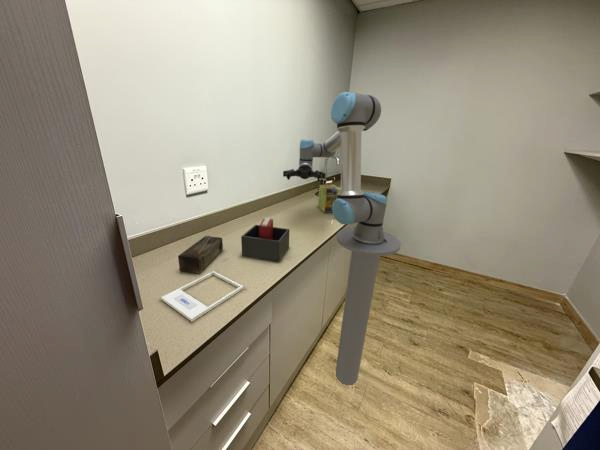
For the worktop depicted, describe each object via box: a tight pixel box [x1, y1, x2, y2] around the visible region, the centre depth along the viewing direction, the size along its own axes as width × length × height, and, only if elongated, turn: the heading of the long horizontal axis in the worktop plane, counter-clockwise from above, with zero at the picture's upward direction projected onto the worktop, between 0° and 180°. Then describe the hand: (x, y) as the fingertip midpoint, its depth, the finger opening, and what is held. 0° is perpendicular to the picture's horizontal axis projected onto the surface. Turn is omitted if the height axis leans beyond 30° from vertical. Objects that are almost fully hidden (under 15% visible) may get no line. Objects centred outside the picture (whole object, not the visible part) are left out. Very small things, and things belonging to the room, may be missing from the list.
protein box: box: [317, 183, 341, 214], centre depth 160 cm, size 10×15×16 cm
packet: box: [258, 217, 274, 240], centre depth 99 cm, size 4×8×13 cm, turn 177°
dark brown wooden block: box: [177, 235, 224, 274], centre depth 91 cm, size 8×19×7 cm, turn 172°
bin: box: [240, 224, 290, 263], centre depth 100 cm, size 16×14×9 cm
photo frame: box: [160, 270, 244, 323], centre depth 73 cm, size 15×1×18 cm
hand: (303, 177), depth 109 cm, fingers open, 13 cm apart
